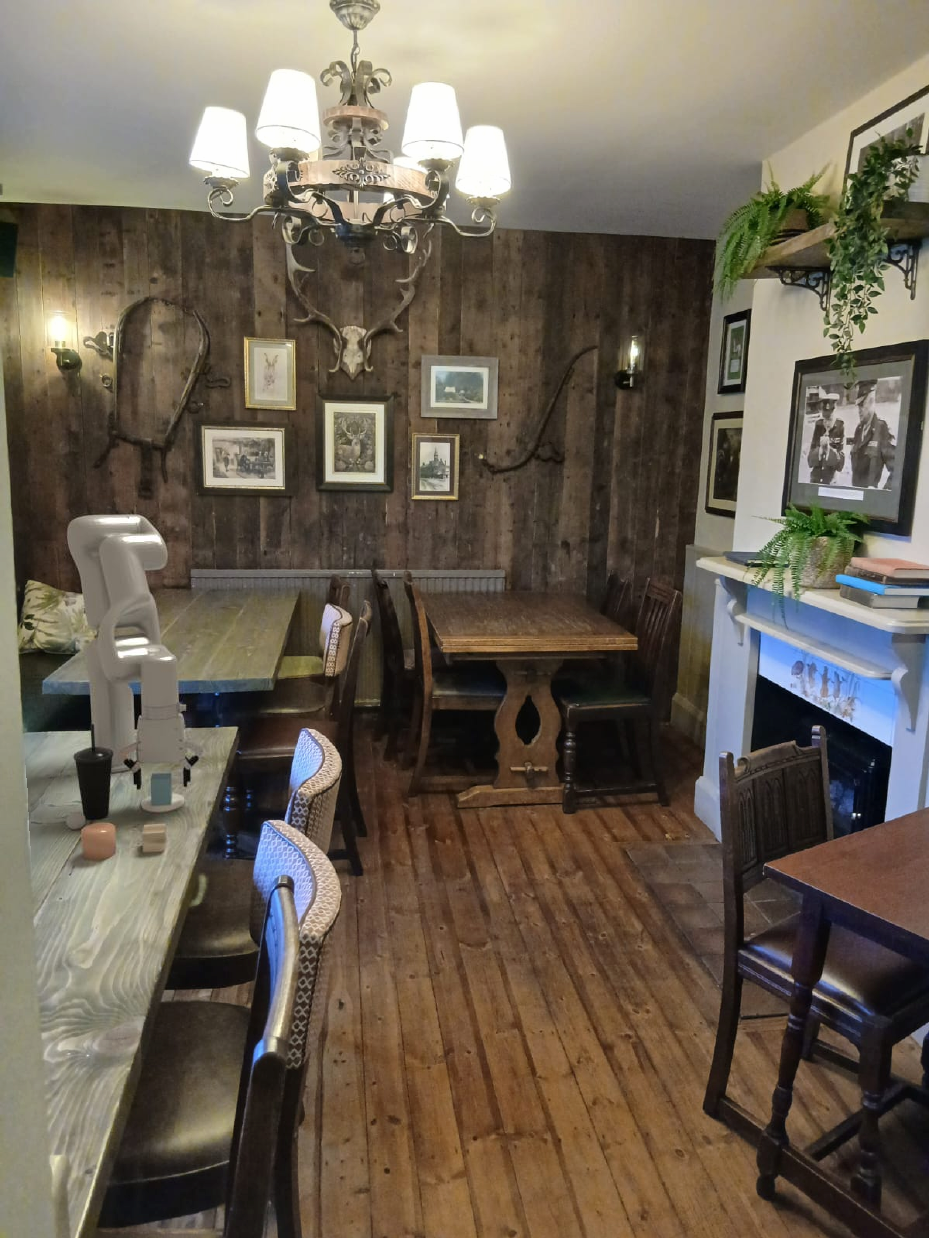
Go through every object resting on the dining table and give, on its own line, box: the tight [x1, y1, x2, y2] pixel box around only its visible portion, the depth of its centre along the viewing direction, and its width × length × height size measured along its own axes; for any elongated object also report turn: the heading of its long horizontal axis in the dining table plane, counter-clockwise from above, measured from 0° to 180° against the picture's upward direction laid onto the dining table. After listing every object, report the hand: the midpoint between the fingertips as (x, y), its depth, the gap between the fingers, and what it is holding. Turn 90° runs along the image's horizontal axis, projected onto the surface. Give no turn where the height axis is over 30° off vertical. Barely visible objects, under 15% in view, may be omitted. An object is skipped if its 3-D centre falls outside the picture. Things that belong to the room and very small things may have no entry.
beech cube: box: [141, 823, 167, 853], centre depth 171 cm, size 4×4×4 cm
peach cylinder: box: [80, 822, 117, 862], centre depth 168 cm, size 6×6×5 cm
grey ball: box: [65, 810, 86, 830], centre depth 178 cm, size 4×4×4 cm
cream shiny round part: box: [140, 792, 185, 813], centre depth 191 cm, size 9×9×1 cm
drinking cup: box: [72, 723, 114, 821], centre depth 182 cm, size 8×8×20 cm
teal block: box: [150, 771, 173, 806], centre depth 190 cm, size 4×4×6 cm
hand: (162, 786), depth 191 cm, fingers open, 9 cm apart
